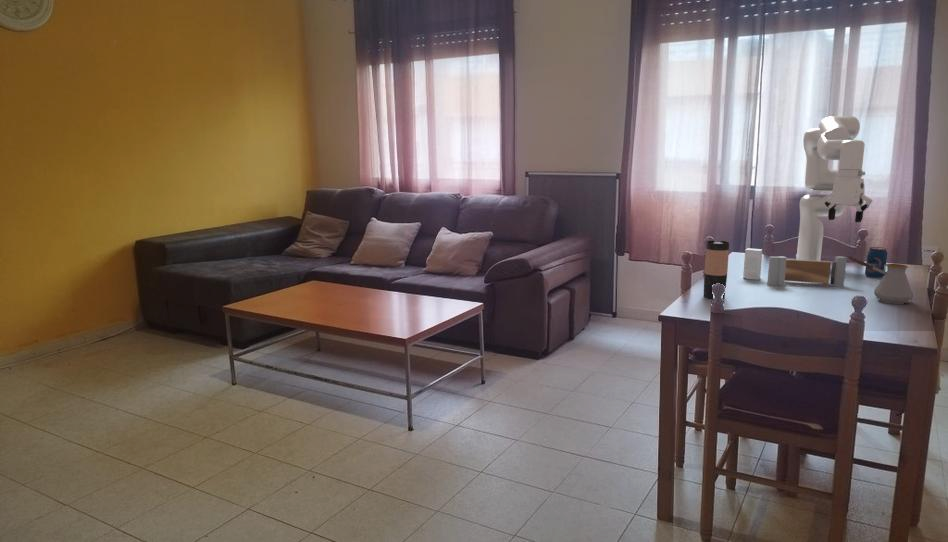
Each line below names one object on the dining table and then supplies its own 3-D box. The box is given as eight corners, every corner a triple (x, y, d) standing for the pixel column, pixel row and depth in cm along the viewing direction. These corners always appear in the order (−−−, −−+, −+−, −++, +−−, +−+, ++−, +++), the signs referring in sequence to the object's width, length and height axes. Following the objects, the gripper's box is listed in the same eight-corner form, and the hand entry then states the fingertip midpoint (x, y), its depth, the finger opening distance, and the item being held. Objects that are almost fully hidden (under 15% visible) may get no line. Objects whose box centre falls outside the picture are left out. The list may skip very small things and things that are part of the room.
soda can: (861, 276, 265) (865, 247, 262) (868, 274, 269) (871, 246, 267) (880, 279, 259) (884, 250, 257) (886, 277, 264) (890, 248, 262)
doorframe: (766, 284, 252) (768, 256, 250) (839, 284, 252) (842, 256, 249) (769, 285, 249) (772, 257, 247) (843, 285, 249) (847, 257, 246)
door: (779, 279, 257) (781, 258, 256) (833, 283, 251) (835, 261, 249) (779, 280, 256) (781, 259, 254) (833, 284, 249) (836, 262, 247)
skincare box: (760, 278, 263) (763, 249, 260) (758, 280, 259) (761, 250, 257) (744, 276, 266) (747, 247, 263) (742, 278, 262) (745, 249, 260)
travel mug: (714, 300, 227) (718, 244, 223) (698, 296, 233) (701, 241, 229) (730, 298, 230) (734, 242, 226) (713, 293, 237) (717, 239, 233)
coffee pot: (907, 299, 228) (913, 257, 225) (915, 307, 217) (921, 263, 214) (839, 294, 236) (843, 253, 233) (843, 301, 225) (848, 259, 222)
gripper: (879, 175, 232) (874, 222, 235) (831, 173, 246) (826, 218, 249) (869, 175, 228) (863, 223, 231) (820, 173, 242) (816, 219, 245)
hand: (844, 220), depth 240 cm, fingers open, 9 cm apart
